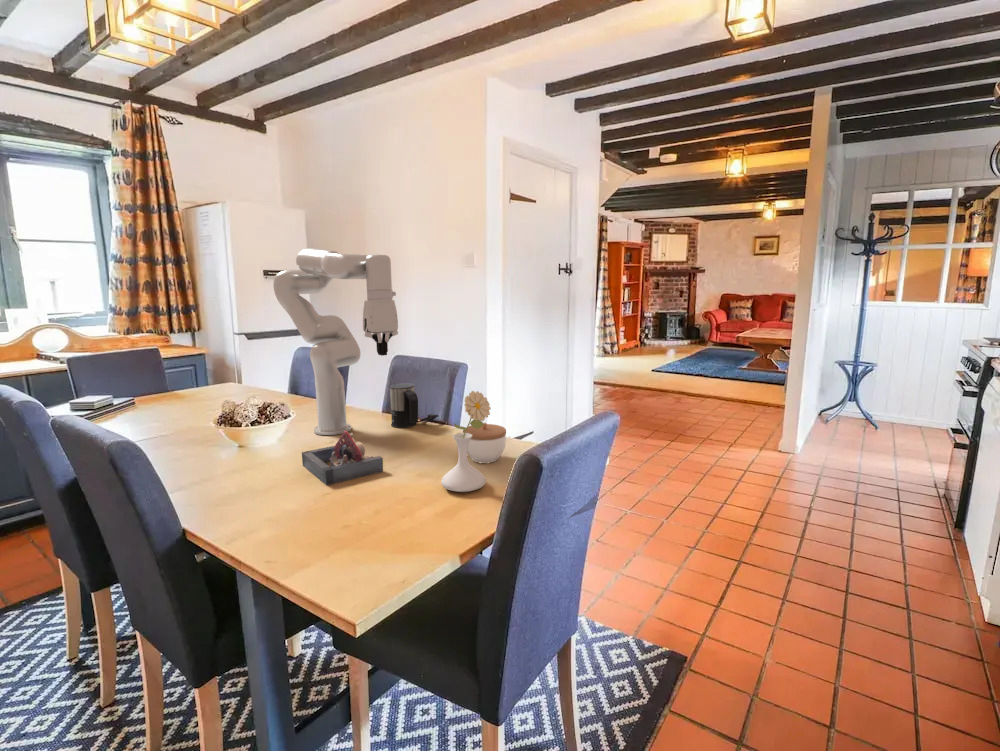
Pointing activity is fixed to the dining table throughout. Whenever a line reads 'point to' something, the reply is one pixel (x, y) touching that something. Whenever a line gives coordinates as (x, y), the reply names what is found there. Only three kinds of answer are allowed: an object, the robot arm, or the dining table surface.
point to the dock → (338, 466)
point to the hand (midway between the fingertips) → (382, 354)
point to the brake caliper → (347, 451)
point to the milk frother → (405, 406)
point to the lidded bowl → (486, 442)
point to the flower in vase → (463, 472)
